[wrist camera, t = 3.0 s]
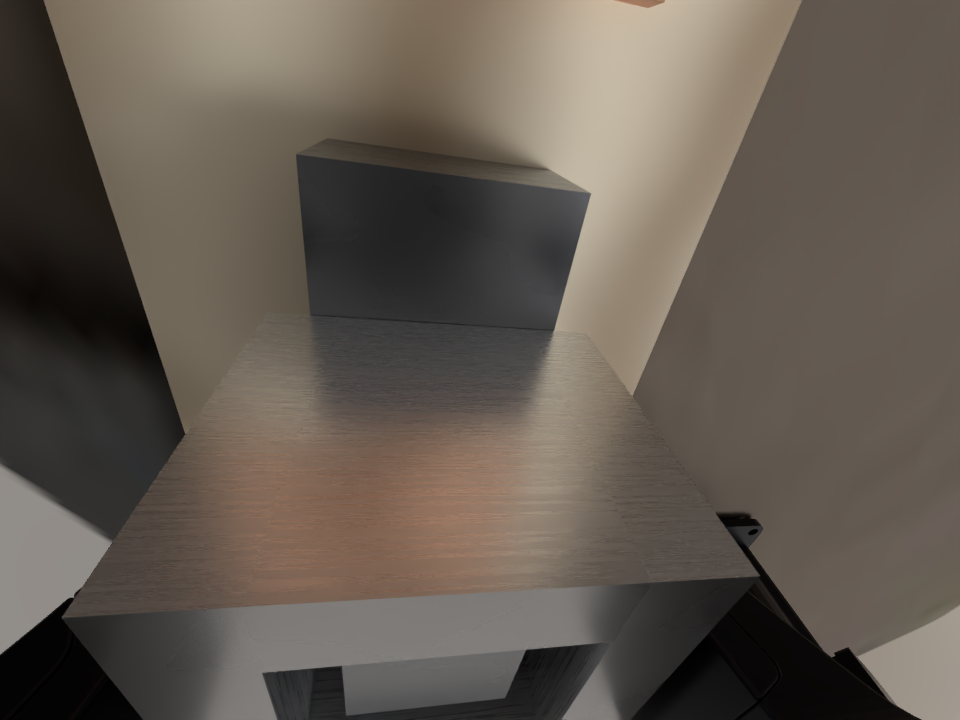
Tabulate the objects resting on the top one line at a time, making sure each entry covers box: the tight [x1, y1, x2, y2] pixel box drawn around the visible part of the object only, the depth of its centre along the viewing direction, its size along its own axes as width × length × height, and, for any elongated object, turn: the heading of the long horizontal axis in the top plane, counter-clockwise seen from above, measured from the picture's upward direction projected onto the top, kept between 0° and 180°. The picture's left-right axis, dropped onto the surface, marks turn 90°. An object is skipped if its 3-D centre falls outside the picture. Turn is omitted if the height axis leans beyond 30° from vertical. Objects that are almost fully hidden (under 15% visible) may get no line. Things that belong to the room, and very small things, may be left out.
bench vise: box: [296, 138, 591, 716], centre depth 9 cm, size 5×14×7 cm, turn 172°
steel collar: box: [62, 313, 760, 720], centre depth 7 cm, size 6×6×5 cm
